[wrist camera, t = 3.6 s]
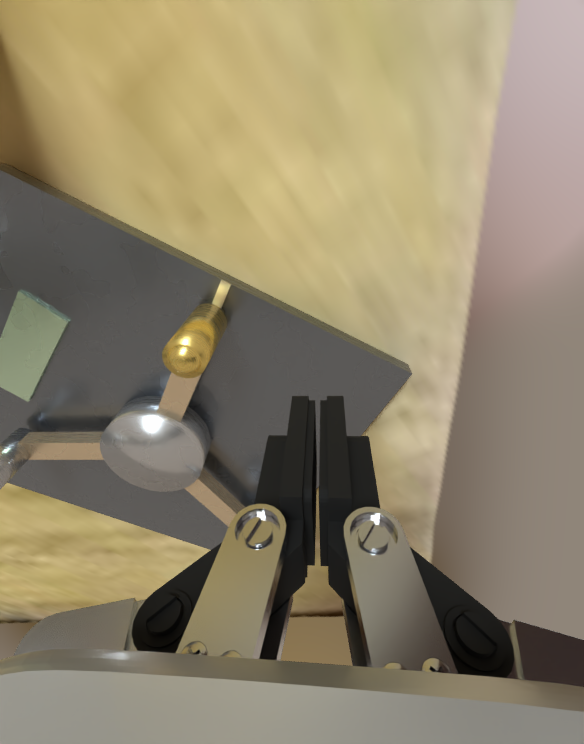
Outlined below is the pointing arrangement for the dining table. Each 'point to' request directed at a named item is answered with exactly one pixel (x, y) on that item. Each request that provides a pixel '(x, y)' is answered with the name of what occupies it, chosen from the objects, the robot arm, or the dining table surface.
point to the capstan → (148, 428)
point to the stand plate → (153, 355)
